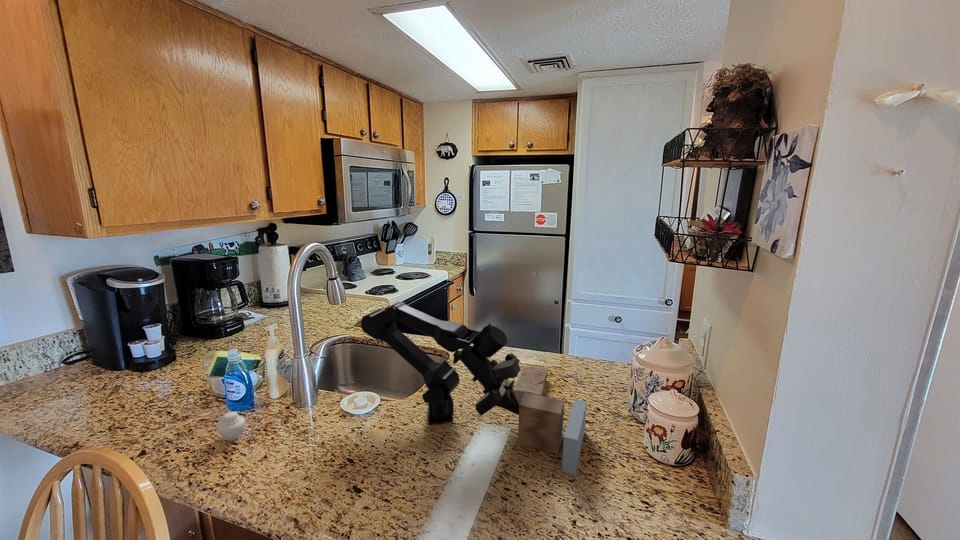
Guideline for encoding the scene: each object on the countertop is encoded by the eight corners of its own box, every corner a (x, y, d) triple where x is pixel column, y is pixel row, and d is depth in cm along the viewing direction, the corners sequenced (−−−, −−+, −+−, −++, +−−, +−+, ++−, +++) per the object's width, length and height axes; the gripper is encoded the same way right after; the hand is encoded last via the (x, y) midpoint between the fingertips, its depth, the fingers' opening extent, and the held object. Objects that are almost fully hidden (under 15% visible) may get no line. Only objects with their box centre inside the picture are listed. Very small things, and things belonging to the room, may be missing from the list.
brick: (540, 408, 110) (541, 393, 109) (512, 403, 112) (512, 389, 111) (547, 380, 125) (548, 367, 124) (522, 377, 128) (523, 364, 127)
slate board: (561, 471, 85) (563, 436, 83) (572, 429, 100) (574, 399, 98) (575, 475, 84) (577, 440, 82) (584, 432, 99) (586, 401, 97)
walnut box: (518, 444, 94) (519, 405, 92) (524, 430, 100) (525, 392, 97) (558, 454, 91) (560, 413, 88) (562, 438, 96) (564, 400, 94)
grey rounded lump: (251, 435, 98) (247, 411, 96) (225, 448, 93) (221, 423, 91) (240, 426, 101) (236, 403, 100) (214, 438, 96) (210, 414, 95)
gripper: (487, 365, 85) (534, 419, 84) (512, 335, 102) (551, 379, 101) (456, 389, 90) (500, 441, 88) (485, 357, 107) (522, 400, 105)
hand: (520, 413), depth 95 cm, fingers closed, pressing on walnut box
